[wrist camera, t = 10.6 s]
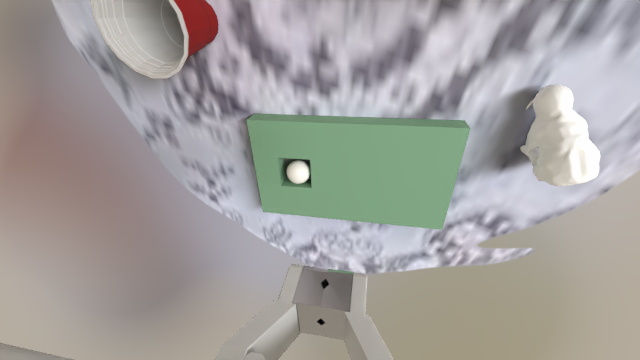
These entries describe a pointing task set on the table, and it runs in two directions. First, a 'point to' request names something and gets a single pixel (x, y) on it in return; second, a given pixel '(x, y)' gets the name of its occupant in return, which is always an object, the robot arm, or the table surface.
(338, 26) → the table surface
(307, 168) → the ball
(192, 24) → the plastic cup
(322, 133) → the green
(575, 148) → the white snowman figurine
